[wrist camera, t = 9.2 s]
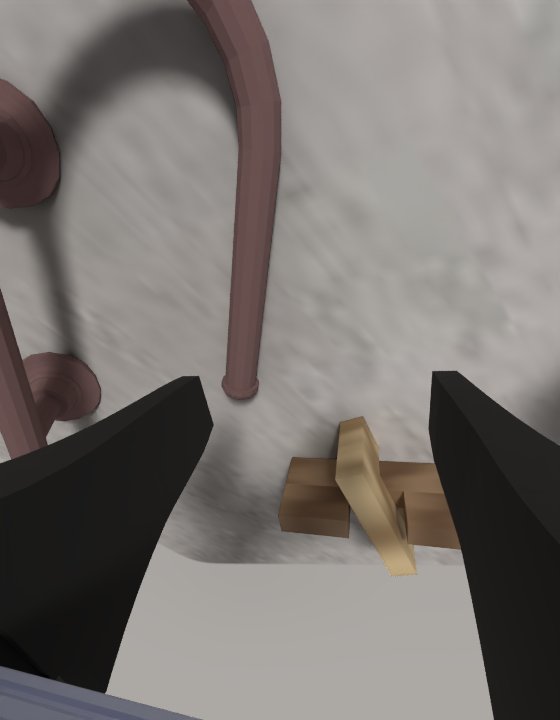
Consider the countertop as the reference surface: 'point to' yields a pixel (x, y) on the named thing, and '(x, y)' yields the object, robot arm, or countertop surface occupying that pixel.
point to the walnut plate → (332, 510)
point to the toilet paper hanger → (250, 246)
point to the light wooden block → (372, 497)
